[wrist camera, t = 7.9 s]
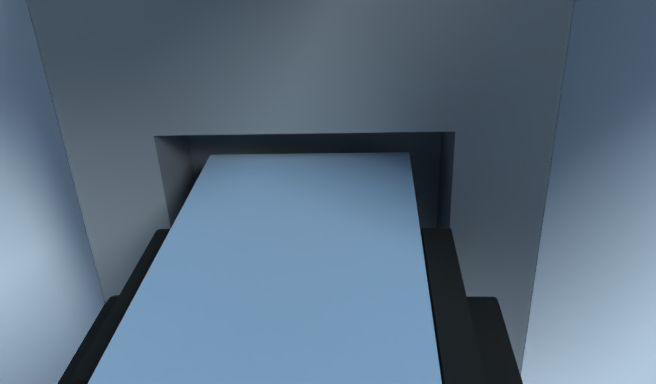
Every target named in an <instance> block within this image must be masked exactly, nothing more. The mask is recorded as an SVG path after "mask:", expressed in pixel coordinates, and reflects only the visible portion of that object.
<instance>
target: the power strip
mask: <svg viewBox="0 0 656 384" xmlns="http://www.w3.org/2000/svg"><path fill="white" fill-rule="evenodd" d="M26 1H27V4H28V8H29V12H30V16H31V20H32V24H33V28H34V31H35V35H36V39H37V43H38V47H39V51H40V55H41V58H42V62H43V66H44V70H45V74H46V78H47V82H48V85H49V89H50V93H51V97H52V101H53V105H54V109H55V112H56V116H57V120H58V124H59V128H60V132H61V136H62V139H63V143H64V147H65V151H66V155H67V159H68V163H69V166H70V170H71V174H72V178H73V182H74V186H75V190H76V193H77V197H78V201H79V205H80V209H81V213H82V217H83V220H84V224H85V228H86V232H87V236H88V240H89V244H90V247H91V251H92V255H93V259H94V263H95V267H96V271H97V274H98V278H99V282H100V286H101V290H102V294H103V298H104V302H105V303H106V302H107V300H108V299H109V298H110V297H112V296H114V295H120V293H121V291H122V289H123V288H124V286H125V284H126V282H127V281H128V279H129V277H130V275H131V274H132V272H133V270H134V268H135V267H136V265H137V263H138V262H139V260H140V258H141V256H142V255H143V253H144V251H145V249H146V248H147V246H148V244H149V242H150V241H151V239H152V237H153V235H154V234H155V232H156V231H157V230H158V229H171V227H172V225H173V224H174V222H175V220H176V218H177V216H178V214H179V212H180V211H181V209H182V207H183V205H184V203H185V201H186V199H187V198H188V196H189V194H190V192H191V190H192V188H193V186H194V184H195V183H196V181H197V179H198V177H199V175H200V173H201V171H202V170H203V168H204V166H205V164H206V162H207V160H208V158H209V157H210V155H228V154H308V153H389V152H409V155H410V162H411V169H412V176H413V183H414V190H415V197H416V204H417V211H418V218H419V225H420V232H421V228H451V230H452V234H453V239H454V243H455V247H456V252H457V256H458V261H459V265H460V270H461V274H462V279H463V283H464V287H465V292H466V296H467V297H496V298H497V300H498V302H499V305H500V308H501V312H502V315H503V318H504V322H505V325H506V329H507V332H508V335H509V339H510V342H511V346H512V349H513V352H514V356H515V359H516V362H517V366H518V369H519V373H520V376H521V370H522V363H523V356H524V349H525V342H526V335H527V328H528V321H529V314H530V307H531V300H532V293H533V286H534V279H535V272H536V265H537V258H538V251H539V244H540V237H541V230H542V223H543V216H544V209H545V202H546V195H547V188H548V181H549V174H550V167H551V160H552V153H553V146H554V139H555V132H556V125H557V118H558V111H559V104H560V97H561V90H562V83H563V76H564V69H565V62H566V55H567V48H568V41H569V34H570V27H571V20H572V13H573V6H574V0H26Z"/></svg>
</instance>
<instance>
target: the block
mask: <svg viewBox="0 0 656 384" xmlns="http://www.w3.org/2000/svg"><path fill="white" fill-rule="evenodd" d="M88 384H442V381H441V374H440V367H439V360H438V352H437V345H436V338H435V331H434V324H433V317H432V310H431V303H430V296H429V289H428V282H427V275H426V268H425V261H424V253H423V246H422V239H421V232H420V225H419V218H418V211H417V204H416V197H415V190H414V183H413V176H412V169H411V162H410V155H409V152H389V153H308V154H228V155H210V157H209V158H208V160H207V162H206V164H205V166H204V168H203V170H202V171H201V173H200V175H199V177H198V179H197V181H196V183H195V184H194V186H193V188H192V190H191V192H190V194H189V196H188V198H187V199H186V201H185V203H184V205H183V207H182V209H181V211H180V212H179V214H178V216H177V218H176V220H175V222H174V224H173V225H172V227H171V229H170V231H169V233H168V235H167V237H166V239H165V240H164V242H163V244H162V246H161V248H160V250H159V252H158V253H157V255H156V257H155V259H154V261H153V263H152V265H151V267H150V268H149V270H148V272H147V274H146V276H145V278H144V280H143V281H142V283H141V285H140V287H139V289H138V291H137V293H136V294H135V296H134V298H133V300H132V302H131V304H130V306H129V308H128V309H127V311H126V313H125V315H124V317H123V319H122V321H121V322H120V324H119V326H118V328H117V330H116V332H115V334H114V335H113V337H112V339H111V341H110V343H109V345H108V347H107V349H106V350H105V352H104V354H103V356H102V358H101V360H100V362H99V363H98V365H97V367H96V369H95V371H94V373H93V375H92V376H91V378H90V380H89V382H88Z"/></svg>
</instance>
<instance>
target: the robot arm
mask: <svg viewBox="0 0 656 384" xmlns="http://www.w3.org/2000/svg"><path fill="white" fill-rule="evenodd" d="M169 231H170V229H158V230H157V231H156V232H155V234H154V235H153V237H152V239H151V241H150V242H149V244H148V246H147V248H146V249H145V251H144V253H143V255H142V256H141V258H140V260H139V262H138V263H137V265H136V267H135V268H134V270H133V272H132V274H131V275H130V277H129V279H128V281H127V282H126V284H125V286H124V288H123V289H122V291H121V293H120V295H114V296H112V297H110V298H109V299H108V300H107V302H106V303H105V305H104V306H103V308H102V310H101V311H100V313H99V315H98V317H97V318H96V320H95V322H94V323H93V325H92V327H91V328H90V330H89V332H88V333H87V335H86V337H85V338H84V340H83V342H82V343H81V345H80V347H79V349H78V350H77V352H76V354H75V355H74V357H73V359H72V360H71V362H70V364H69V365H68V367H67V369H66V370H65V372H64V374H63V375H62V377H61V379H60V381H59V382H58V384H88V382H89V380H90V378H91V376H92V375H93V373H94V371H95V369H96V367H97V365H98V363H99V362H100V360H101V358H102V356H103V354H104V352H105V350H106V349H107V347H108V345H109V343H110V341H111V339H112V337H113V335H114V334H115V332H116V330H117V328H118V326H119V324H120V322H121V321H122V319H123V317H124V315H125V313H126V311H127V309H128V308H129V306H130V304H131V302H132V300H133V298H134V296H135V294H136V293H137V291H138V289H139V287H140V285H141V283H142V281H143V280H144V278H145V276H146V274H147V272H148V270H149V268H150V267H151V265H152V263H153V261H154V259H155V257H156V255H157V253H158V252H159V250H160V248H161V246H162V244H163V242H164V240H165V239H166V237H167V235H168V233H169ZM421 239H422V246H423V253H424V261H425V268H426V275H427V282H428V289H429V296H430V303H431V310H432V317H433V324H434V331H435V338H436V345H437V352H438V360H439V367H440V374H441V381H442V384H523V383H522V379H521V376H520V373H519V369H518V366H517V362H516V359H515V356H514V352H513V349H512V346H511V342H510V339H509V335H508V332H507V329H506V325H505V322H504V318H503V315H502V312H501V308H500V305H499V302H498V300H497V298H496V297H467V296H466V292H465V287H464V283H463V279H462V274H461V270H460V265H459V261H458V256H457V252H456V247H455V243H454V239H453V234H452V230H451V228H421Z"/></svg>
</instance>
